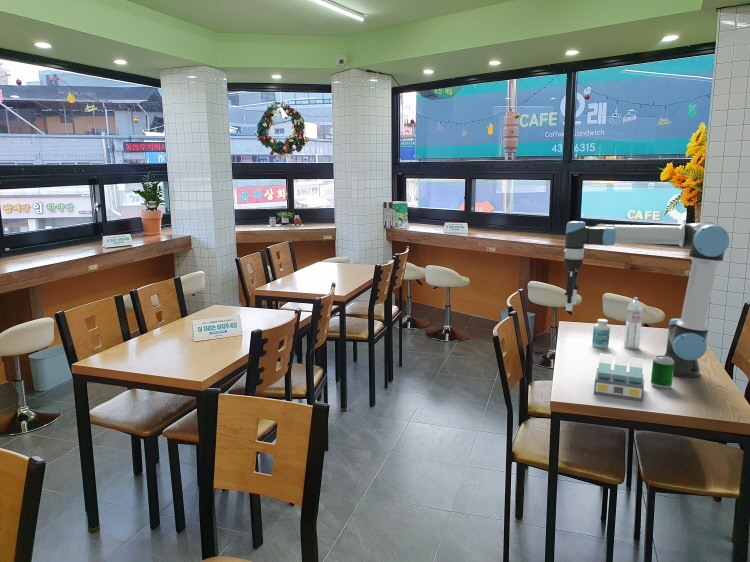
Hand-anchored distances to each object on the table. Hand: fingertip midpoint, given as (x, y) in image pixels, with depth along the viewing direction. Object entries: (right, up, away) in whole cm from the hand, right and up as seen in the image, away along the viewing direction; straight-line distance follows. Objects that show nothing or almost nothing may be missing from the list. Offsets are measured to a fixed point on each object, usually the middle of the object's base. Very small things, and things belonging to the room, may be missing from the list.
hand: (570, 307), depth 244 cm
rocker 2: (+11, -23, -23) cm, 35 cm away
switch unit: (+11, -32, -22) cm, 40 cm away
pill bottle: (+27, -21, +36) cm, 50 cm away
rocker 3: (+16, -24, -25) cm, 38 cm away
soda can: (+30, -31, -16) cm, 46 cm away
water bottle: (+42, -21, +35) cm, 58 cm away
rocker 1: (+6, -23, -21) cm, 32 cm away
